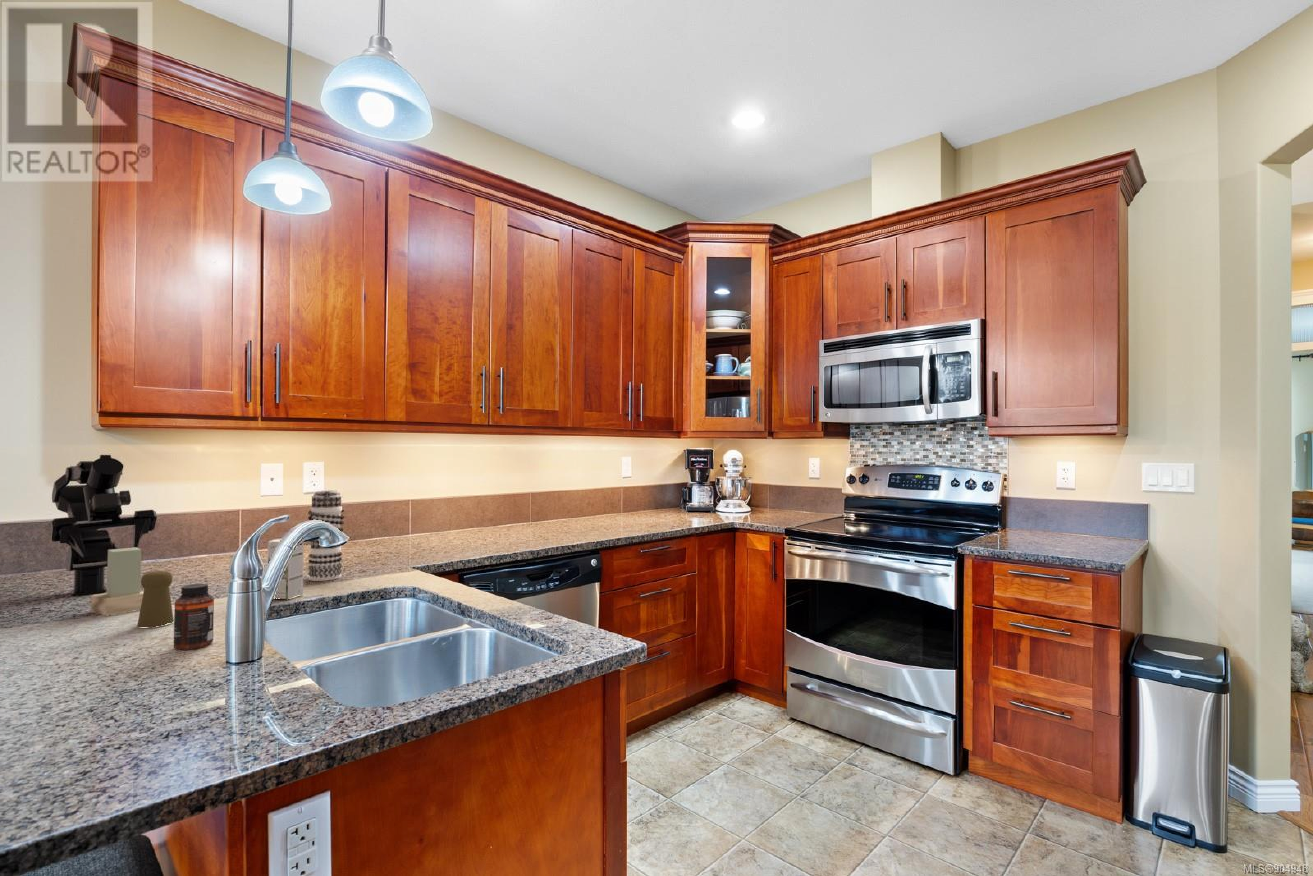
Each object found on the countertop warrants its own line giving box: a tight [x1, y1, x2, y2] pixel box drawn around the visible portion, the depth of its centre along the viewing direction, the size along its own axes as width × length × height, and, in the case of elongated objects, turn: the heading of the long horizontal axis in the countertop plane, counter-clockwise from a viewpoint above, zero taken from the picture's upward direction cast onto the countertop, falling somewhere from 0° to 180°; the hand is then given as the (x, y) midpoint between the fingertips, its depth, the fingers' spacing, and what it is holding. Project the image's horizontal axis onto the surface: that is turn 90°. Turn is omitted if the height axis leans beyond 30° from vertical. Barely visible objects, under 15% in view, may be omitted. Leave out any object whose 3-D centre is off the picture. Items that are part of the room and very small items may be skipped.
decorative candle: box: [307, 490, 345, 582], centre depth 177 cm, size 9×9×25 cm
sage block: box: [106, 547, 142, 597], centre depth 140 cm, size 5×5×10 cm
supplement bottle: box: [173, 583, 215, 651], centre depth 115 cm, size 6×6×11 cm
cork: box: [136, 570, 174, 628], centre depth 129 cm, size 6×6×11 cm
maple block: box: [90, 589, 144, 617], centre depth 140 cm, size 8×8×4 cm
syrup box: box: [267, 537, 304, 601], centre depth 153 cm, size 6×6×14 cm
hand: (110, 552), depth 144 cm, fingers open, 9 cm apart
